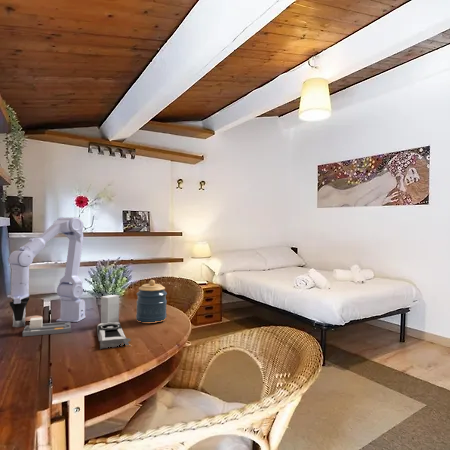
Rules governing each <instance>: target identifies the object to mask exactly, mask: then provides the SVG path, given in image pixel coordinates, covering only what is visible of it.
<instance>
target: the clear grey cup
mask: <svg viewBox="0 0 450 450" xmlns="http://www.w3.org/2000/svg"><path fill="white" fill-rule="evenodd" d="M25 317H26V309H24V313H23V318H22V321H15V318H14V313H13V312H12V328H21V327H25V326H26V321H25Z"/></svg>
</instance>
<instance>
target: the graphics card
mask: <svg viewBox="0 0 450 450" xmlns="http://www.w3.org/2000/svg"><path fill="white" fill-rule="evenodd" d="M96 330H97V337H98V338H97V339H98V342H99V350H101V349H111V348H110V347H112V348H118V347H119V345H120V344H121V345H120V346H121V347H123V346H122V345H124V344H125V345H129V344H130V343H129V342H131V341H132V339H131V338H127V337H126V335H125V332H124V331H123V328H122V325H121V323H120V321H119V322H114V323H105V324H103V323H101V322H100V323H98V325H97V326H96ZM122 343H123V344H122ZM117 346H118V347H117ZM108 347H109V348H108Z"/></svg>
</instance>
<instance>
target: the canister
mask: <svg viewBox="0 0 450 450" xmlns="http://www.w3.org/2000/svg"><path fill="white" fill-rule="evenodd" d="M165 289H166V287H165V286H163V285H162V284H160V283H156V281H155V280H154V279H150V280H149V281H148V283H145V284H142V285H141V286H139V287H138V292H136V296H137V300H136V314H135V319H136V321H137V320H138V321H141V322H155V321H161V320H164V319H165V318H166V319H167V301H168V300H167V299H166V298H167V295H168V293H167V291H166V290H165Z"/></svg>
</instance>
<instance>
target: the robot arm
mask: <svg viewBox="0 0 450 450" xmlns="http://www.w3.org/2000/svg"><path fill="white" fill-rule="evenodd" d="M83 230H84V222H83V221H82V220H81V219H80V218H79V216H78V217H77V216H73V217H71V216H70V217H65V216H60V217H58V218H57V219H55V220H54V221H53V223H52V224H51V225H50V226H49V227H48V228H47V229H46V230H45V231H44V232H43V233H42V234H40V235H39V236H38V237H31V238H29V239H28V242H26V243H25V244H24V245H22V246H20V247H19V249H18V250H14V251H11V253H10V254H9V257H7V262H8V263H9V265H10V269H11V277H10V279H11V280H10V282H11V284H10V285H11V286H10V292H11V293H10V294H7V298H11V299H12V301H9V306H10V307H11V310H12V314H13V313H14V318H15V321H22V318H23V313H24V309H25V310H26V309H27V304H28V302H29V300H30V292H29V290H30V286H29V285H30V265H31V264H33V261H34V258H36V256H37V255H39V254H40V253H41V252H42V251H43V250H45V248H46V244H47V243H48V242H49V241H51V240H52V239H53V238H55V237H56V236H57V235H59V234H60V233H61V234H63V235H65V237H67V239H68V241H69V242H68V248H67V254H66V263H65V271H64V275H63V276H62V278H60V279H59V283H58V285H57V287H56V293H57V296H58V297H59V299H60V316H59V318H58V319H56V320H55V321H56V322H65V323H67V322H71V323H72V322H73V323H77V322H80V321H81V320H83V319H85V318H86V317H87V316H86V301H85V299H81V297H82V295H83V293H84V287H83V280H82V279H81V278H80V275H79V274H80V266H81V259H82V251H83V245H84V244H83V243H84V231H83Z"/></svg>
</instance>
